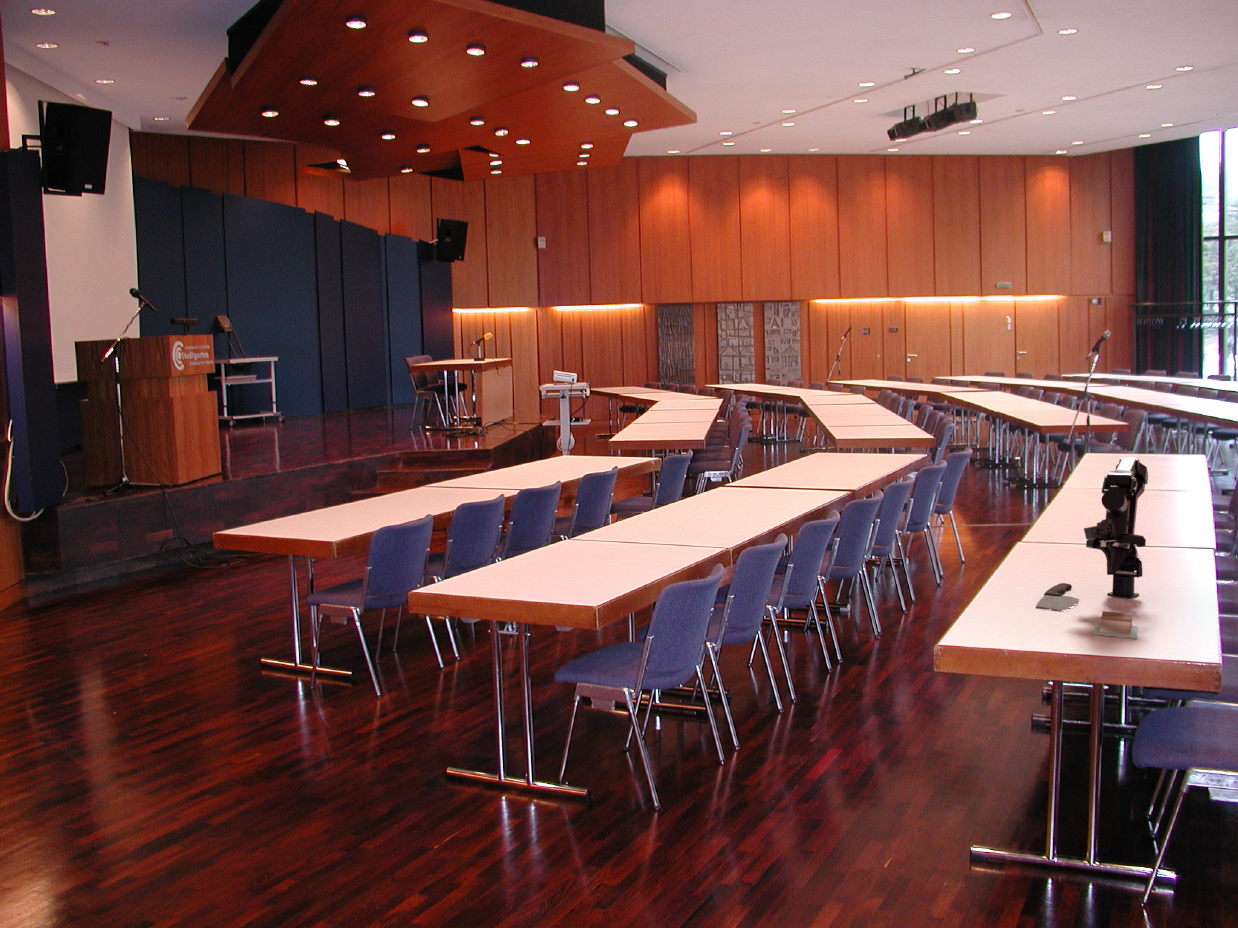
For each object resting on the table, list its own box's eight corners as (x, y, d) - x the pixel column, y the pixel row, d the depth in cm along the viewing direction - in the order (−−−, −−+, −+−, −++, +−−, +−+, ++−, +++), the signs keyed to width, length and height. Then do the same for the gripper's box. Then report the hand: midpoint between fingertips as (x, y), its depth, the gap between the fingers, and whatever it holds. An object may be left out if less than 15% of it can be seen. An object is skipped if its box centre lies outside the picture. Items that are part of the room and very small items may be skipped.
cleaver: (1052, 588, 317) (1053, 581, 317) (1087, 591, 312) (1087, 584, 312) (1033, 611, 292) (1033, 603, 292) (1071, 614, 287) (1071, 607, 287)
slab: (1102, 610, 276) (1100, 620, 267) (1132, 613, 272) (1130, 622, 264) (1102, 621, 276) (1100, 631, 267) (1131, 624, 273) (1130, 634, 264)
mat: (1096, 623, 276) (1096, 622, 276) (1138, 627, 271) (1138, 626, 271) (1092, 634, 265) (1092, 633, 265) (1136, 639, 261) (1136, 638, 260)
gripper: (1071, 515, 296) (1066, 569, 293) (1110, 509, 277) (1105, 566, 275) (1107, 521, 297) (1103, 576, 294) (1148, 515, 279) (1144, 573, 276)
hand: (1112, 573), depth 285 cm, fingers closed
